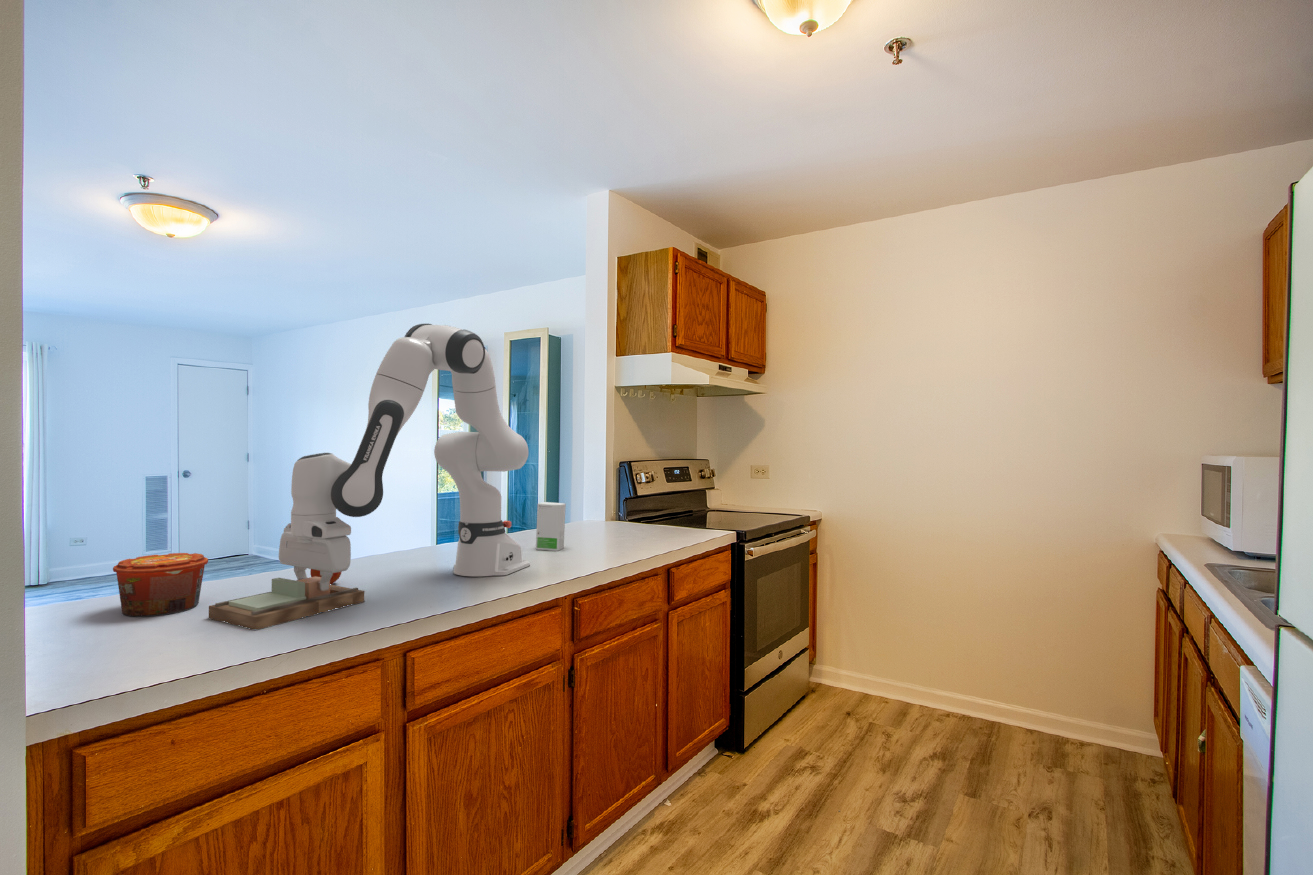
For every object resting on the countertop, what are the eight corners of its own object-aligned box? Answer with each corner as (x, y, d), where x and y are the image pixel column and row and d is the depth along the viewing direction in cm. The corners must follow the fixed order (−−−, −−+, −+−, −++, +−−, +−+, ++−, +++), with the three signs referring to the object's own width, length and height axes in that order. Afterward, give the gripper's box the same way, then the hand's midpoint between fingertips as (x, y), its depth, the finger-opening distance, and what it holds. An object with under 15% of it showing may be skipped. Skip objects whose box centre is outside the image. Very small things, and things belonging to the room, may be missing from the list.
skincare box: (535, 550, 208) (535, 503, 208) (542, 546, 215) (542, 501, 215) (559, 551, 207) (559, 504, 207) (565, 547, 214) (566, 502, 214)
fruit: (339, 580, 161) (340, 549, 161) (343, 586, 155) (343, 554, 155) (309, 583, 157) (309, 552, 157) (311, 589, 152) (311, 556, 152)
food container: (178, 596, 144) (179, 549, 144) (224, 604, 138) (224, 555, 138) (94, 613, 129) (95, 562, 129) (141, 623, 123) (142, 569, 123)
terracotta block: (315, 598, 142) (315, 576, 142) (330, 601, 140) (330, 578, 140) (294, 603, 137) (294, 580, 137) (308, 606, 135) (308, 583, 135)
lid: (277, 594, 137) (277, 577, 137) (306, 600, 132) (306, 582, 132) (228, 605, 128) (229, 586, 128) (257, 611, 123) (258, 592, 123)
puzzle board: (319, 592, 148) (319, 579, 148) (364, 601, 141) (364, 588, 141) (208, 618, 127) (208, 602, 127) (255, 630, 120) (255, 614, 120)
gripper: (271, 524, 140) (270, 585, 140) (330, 531, 131) (329, 597, 131) (298, 520, 146) (297, 579, 146) (356, 527, 137) (355, 590, 137)
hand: (313, 588), depth 139 cm, fingers open, 5 cm apart
